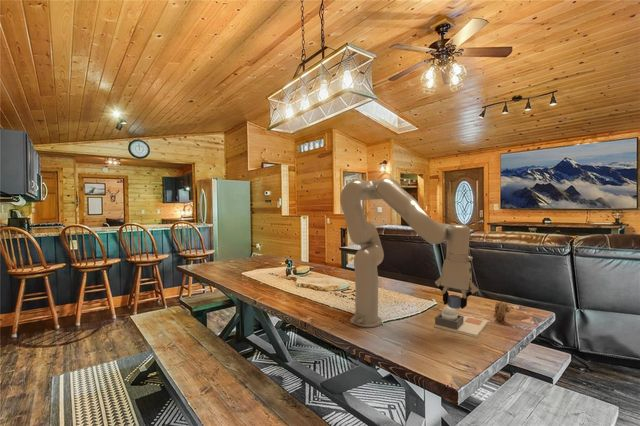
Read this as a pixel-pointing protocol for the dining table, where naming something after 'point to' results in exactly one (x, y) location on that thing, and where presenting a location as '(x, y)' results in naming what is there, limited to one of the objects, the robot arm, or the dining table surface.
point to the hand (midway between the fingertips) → (454, 305)
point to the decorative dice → (454, 301)
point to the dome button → (449, 313)
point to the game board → (461, 325)
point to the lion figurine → (501, 310)
